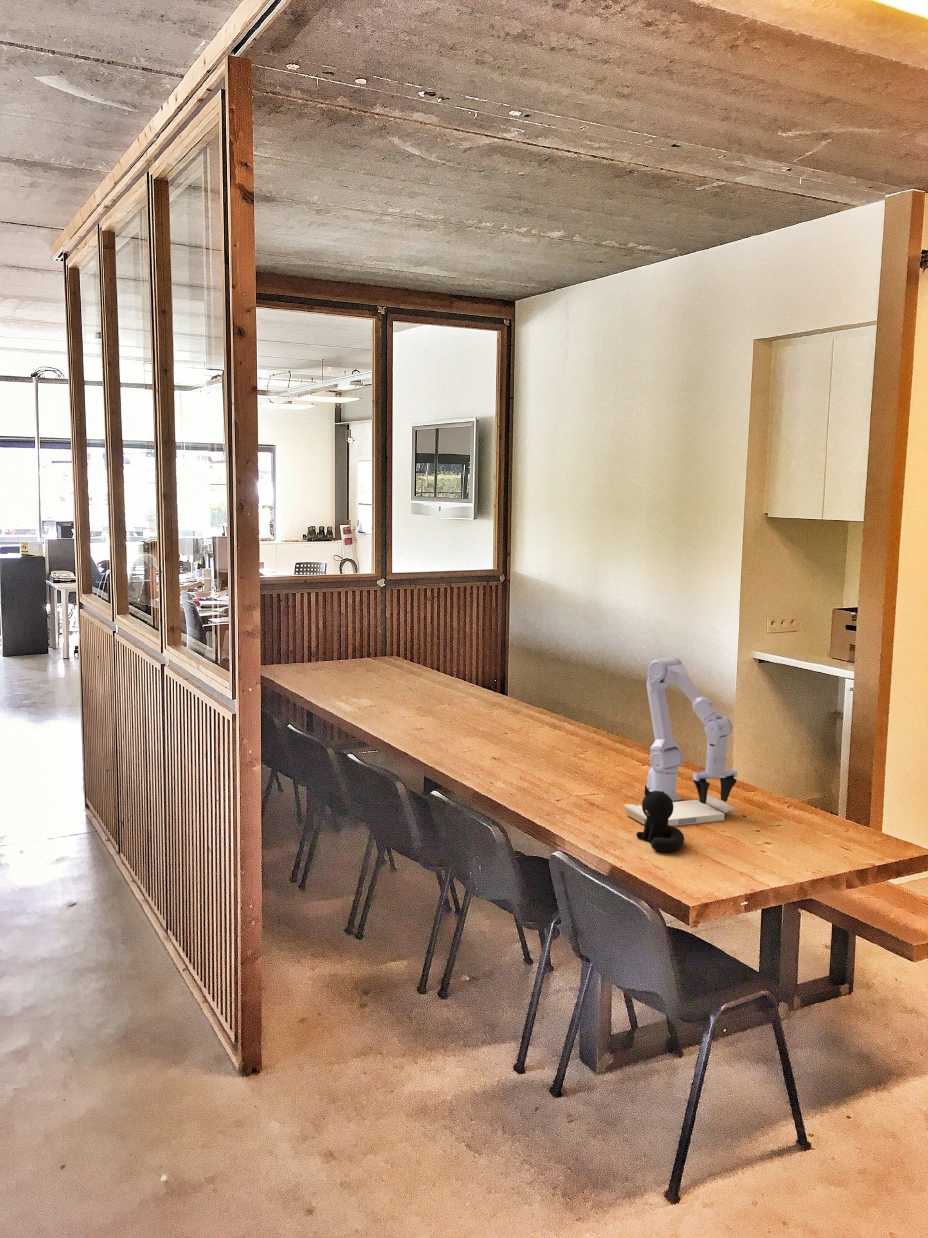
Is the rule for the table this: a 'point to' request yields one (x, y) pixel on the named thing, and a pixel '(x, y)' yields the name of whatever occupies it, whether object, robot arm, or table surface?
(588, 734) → the table surface
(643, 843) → the table surface
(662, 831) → the figurine
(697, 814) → the carton
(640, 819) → the near flap
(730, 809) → the far flap
